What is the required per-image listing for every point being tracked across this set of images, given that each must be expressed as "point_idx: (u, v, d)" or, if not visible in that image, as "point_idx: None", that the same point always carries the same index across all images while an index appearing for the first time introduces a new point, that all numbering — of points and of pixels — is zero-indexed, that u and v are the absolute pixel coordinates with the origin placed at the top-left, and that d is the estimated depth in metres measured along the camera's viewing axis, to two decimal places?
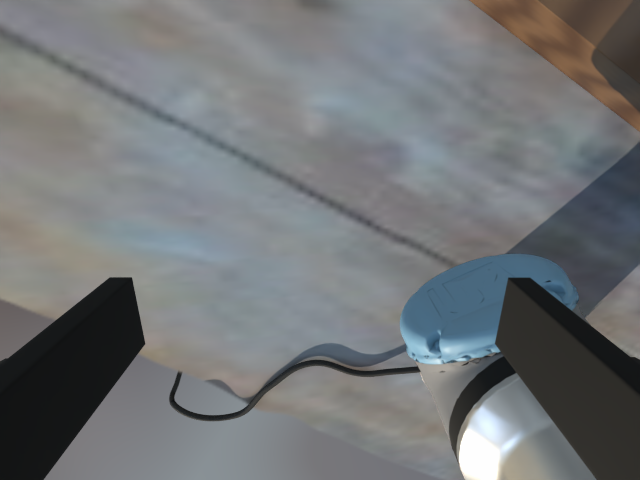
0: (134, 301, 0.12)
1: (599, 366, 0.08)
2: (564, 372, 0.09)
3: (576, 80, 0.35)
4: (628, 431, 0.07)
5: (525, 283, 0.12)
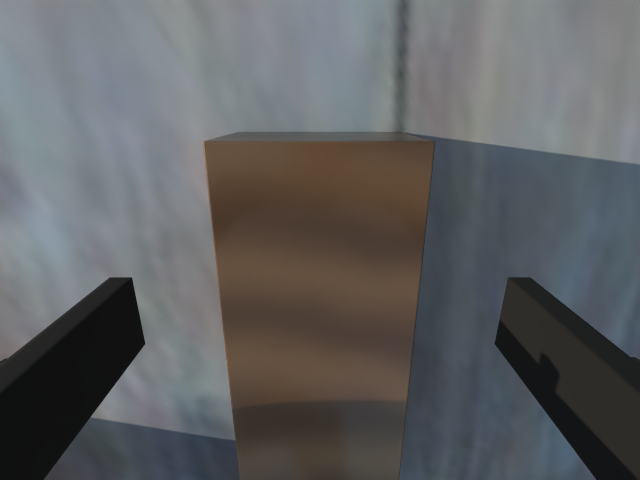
0: (134, 301, 0.12)
1: (599, 366, 0.08)
2: (564, 372, 0.09)
3: None
4: (628, 431, 0.07)
5: (525, 283, 0.12)
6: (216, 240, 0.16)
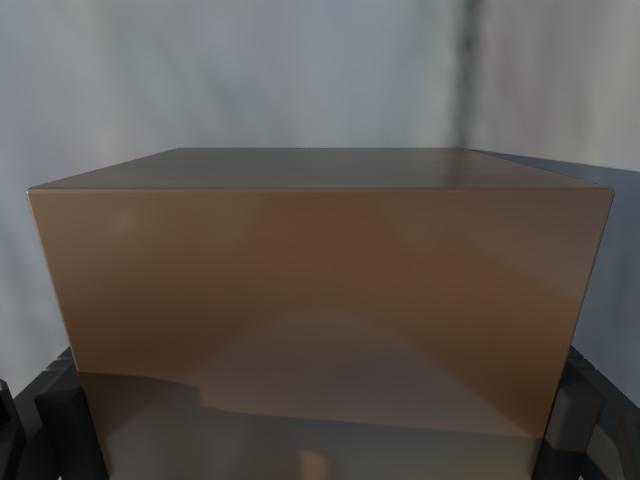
0: None
1: None
2: None
3: None
4: None
5: None
6: (91, 399, 0.07)
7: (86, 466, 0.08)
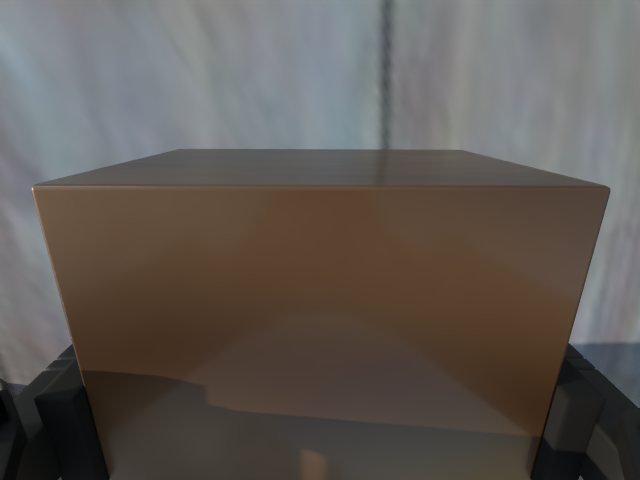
0: None
1: None
2: None
3: None
4: None
5: None
6: (93, 396, 0.07)
7: (86, 466, 0.08)
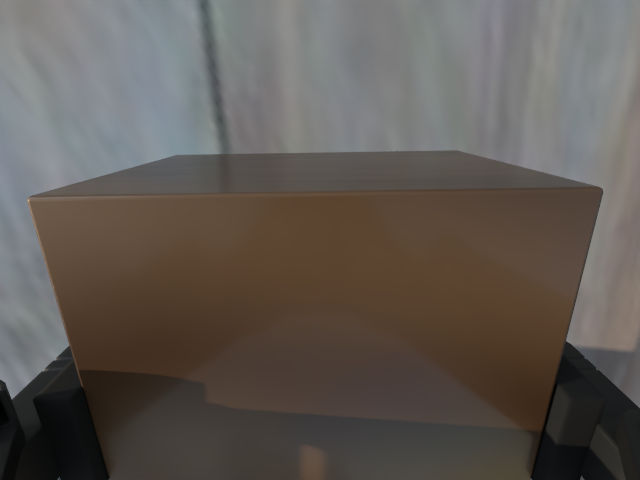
0: None
1: None
2: None
3: None
4: None
5: None
6: (93, 404, 0.07)
7: (85, 466, 0.08)
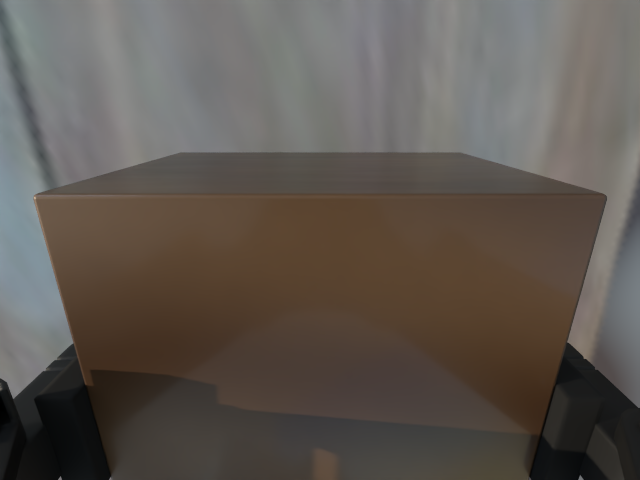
0: None
1: None
2: None
3: None
4: None
5: None
6: (96, 400, 0.08)
7: (86, 466, 0.08)
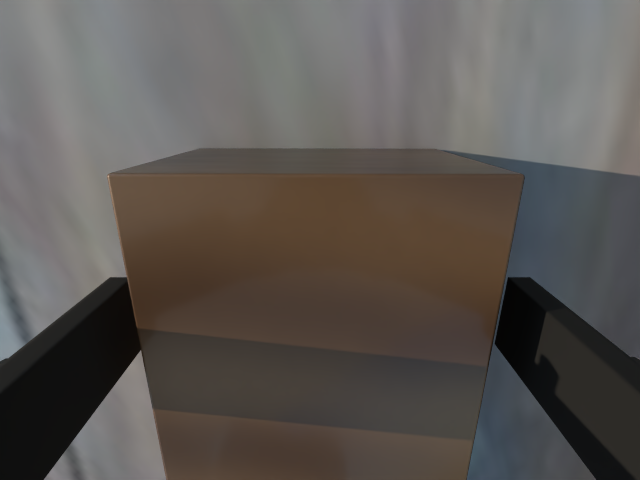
0: None
1: (599, 366, 0.08)
2: (564, 372, 0.09)
3: None
4: (628, 431, 0.07)
5: (525, 283, 0.12)
6: (143, 336, 0.10)
7: None
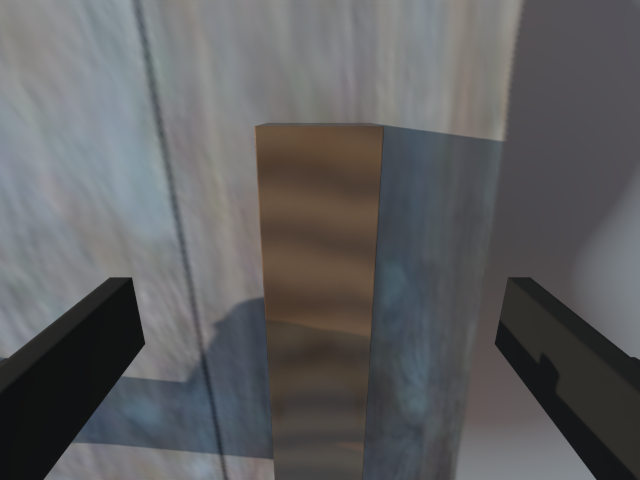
0: (134, 301, 0.12)
1: (599, 366, 0.08)
2: (564, 372, 0.09)
3: None
4: (628, 431, 0.07)
5: (525, 283, 0.12)
6: (259, 184, 0.28)
7: None
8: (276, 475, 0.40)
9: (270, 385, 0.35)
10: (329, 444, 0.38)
